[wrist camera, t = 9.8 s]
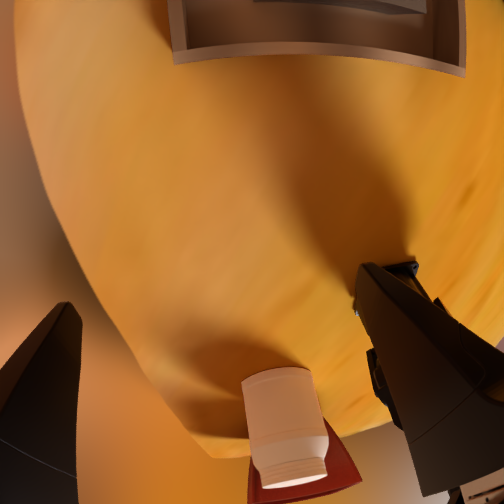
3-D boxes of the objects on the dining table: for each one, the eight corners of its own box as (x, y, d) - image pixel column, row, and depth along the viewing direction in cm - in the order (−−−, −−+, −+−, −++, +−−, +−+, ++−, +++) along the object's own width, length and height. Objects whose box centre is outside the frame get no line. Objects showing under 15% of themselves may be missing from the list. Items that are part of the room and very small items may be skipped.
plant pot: (240, 417, 47) (252, 504, 34) (342, 402, 49) (365, 481, 36) (238, 443, 58) (247, 508, 45) (317, 433, 61) (332, 493, 48)
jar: (239, 372, 36) (254, 484, 24) (312, 361, 37) (342, 467, 25) (245, 405, 43) (258, 491, 32) (304, 396, 44) (324, 479, 32)
